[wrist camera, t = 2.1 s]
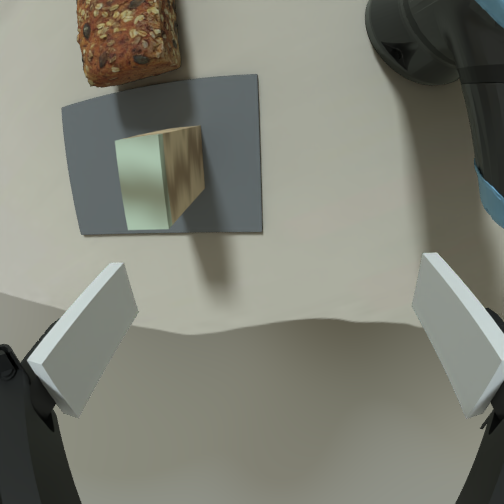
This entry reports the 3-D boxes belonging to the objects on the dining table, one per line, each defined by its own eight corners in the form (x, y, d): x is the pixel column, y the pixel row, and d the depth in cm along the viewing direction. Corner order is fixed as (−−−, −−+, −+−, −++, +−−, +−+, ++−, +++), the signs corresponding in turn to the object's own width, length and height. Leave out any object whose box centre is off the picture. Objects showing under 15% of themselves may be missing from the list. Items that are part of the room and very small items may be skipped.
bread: (187, 70, 32) (158, 58, 23) (113, 90, 33) (69, 89, 24) (176, -43, 24) (149, -75, 15) (106, -19, 25) (68, -39, 16)
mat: (63, 107, 34) (61, 107, 34) (257, 74, 32) (256, 74, 31) (83, 233, 43) (81, 234, 42) (262, 230, 40) (261, 231, 40)
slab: (169, 128, 35) (114, 140, 22) (200, 125, 34) (158, 134, 22) (175, 189, 38) (128, 230, 26) (205, 188, 38) (168, 229, 25)
